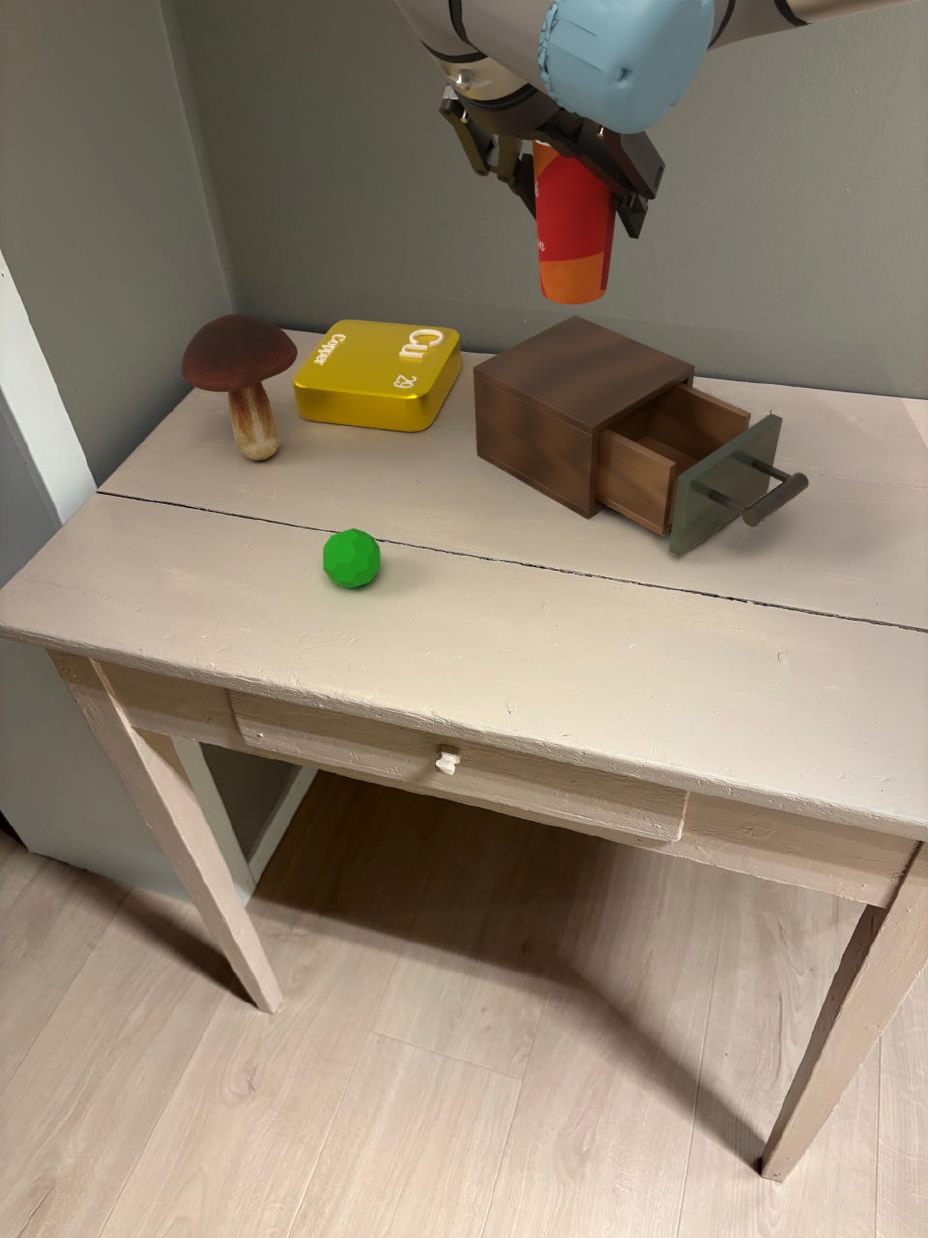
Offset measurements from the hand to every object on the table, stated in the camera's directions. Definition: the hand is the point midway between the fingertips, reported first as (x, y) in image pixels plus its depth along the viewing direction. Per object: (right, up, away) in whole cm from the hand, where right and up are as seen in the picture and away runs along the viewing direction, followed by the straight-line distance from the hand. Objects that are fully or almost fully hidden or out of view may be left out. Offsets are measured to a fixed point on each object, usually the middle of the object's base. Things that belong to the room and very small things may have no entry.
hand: (591, 214), depth 80 cm
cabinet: (+1, -18, +14) cm, 23 cm away
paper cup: (-1, -6, +2) cm, 6 cm away
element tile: (-20, -9, +25) cm, 33 cm away
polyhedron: (-20, -31, +3) cm, 37 cm away
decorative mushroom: (-31, -17, +17) cm, 40 cm away
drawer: (+9, -23, +6) cm, 26 cm away
